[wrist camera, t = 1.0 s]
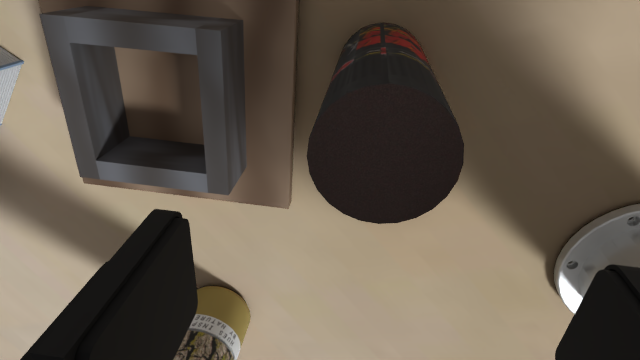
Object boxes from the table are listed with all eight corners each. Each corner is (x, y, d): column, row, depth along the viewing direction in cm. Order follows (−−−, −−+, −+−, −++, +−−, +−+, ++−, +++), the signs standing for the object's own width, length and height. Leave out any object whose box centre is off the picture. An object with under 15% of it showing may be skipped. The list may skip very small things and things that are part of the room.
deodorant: (437, 84, 29) (487, 189, 16) (362, 121, 31) (352, 242, 18) (401, 5, 27) (424, 51, 14) (323, 50, 29) (278, 129, 16)
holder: (300, -36, 26) (282, -34, 21) (291, 201, 35) (276, 241, 30) (37, -57, 28) (-37, -60, 23) (92, 176, 36) (47, 211, 31)
